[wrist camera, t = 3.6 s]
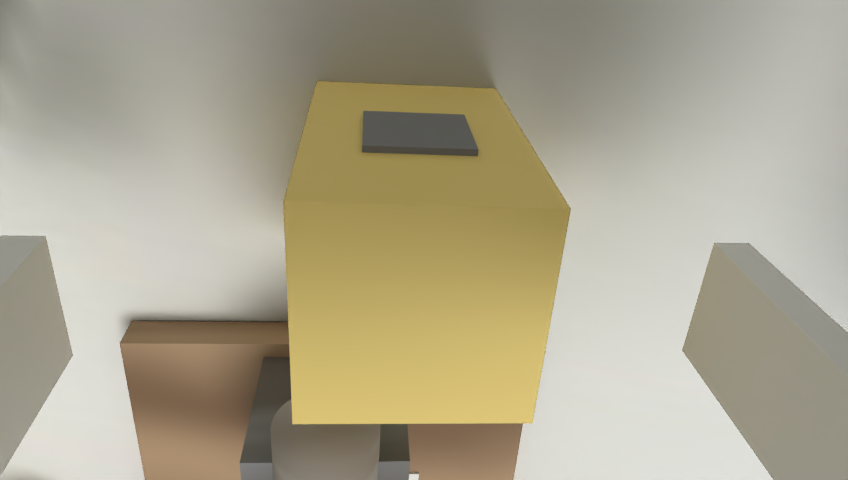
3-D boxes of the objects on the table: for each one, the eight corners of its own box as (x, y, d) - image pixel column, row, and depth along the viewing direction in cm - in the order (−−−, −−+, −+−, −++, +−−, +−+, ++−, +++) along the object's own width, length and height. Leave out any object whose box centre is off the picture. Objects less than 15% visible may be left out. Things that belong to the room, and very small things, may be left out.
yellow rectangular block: (316, 75, 18) (282, 193, 11) (496, 83, 19) (572, 201, 12) (319, 245, 21) (292, 429, 14) (477, 248, 21) (530, 428, 14)
